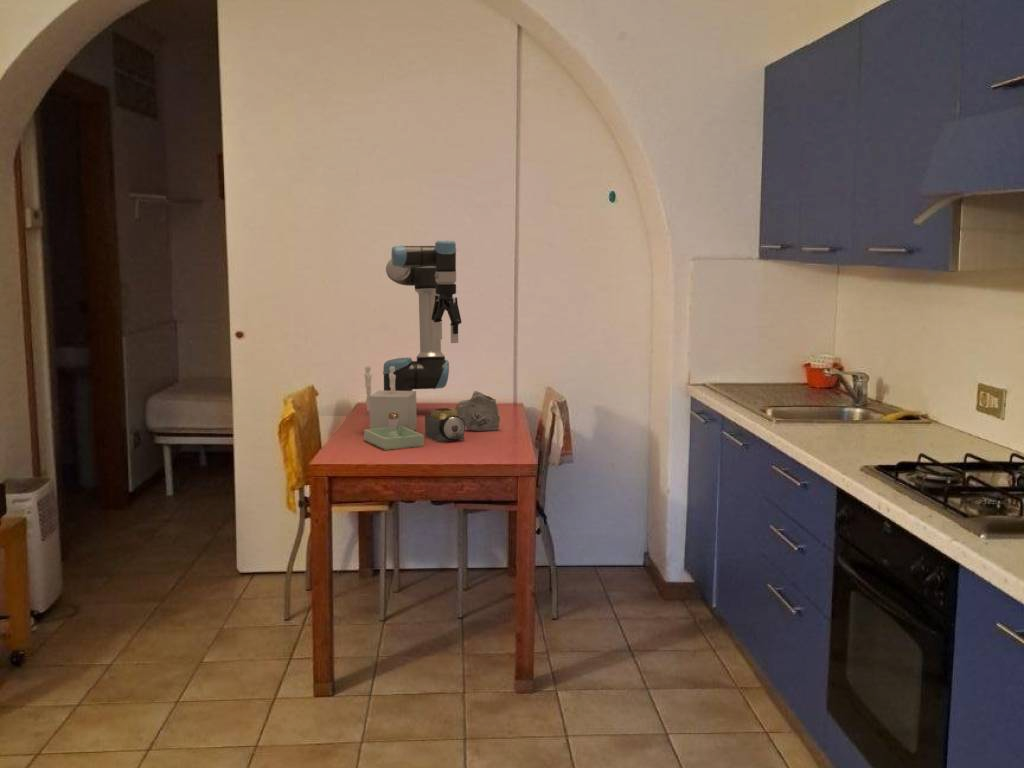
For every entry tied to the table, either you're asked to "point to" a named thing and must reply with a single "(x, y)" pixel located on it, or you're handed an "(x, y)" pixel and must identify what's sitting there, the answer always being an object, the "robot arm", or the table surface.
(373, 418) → the grey box
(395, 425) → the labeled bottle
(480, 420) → the fossil
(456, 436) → the block
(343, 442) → the table surface
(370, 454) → the table surface
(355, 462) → the table surface
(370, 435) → the tray
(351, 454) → the table surface
